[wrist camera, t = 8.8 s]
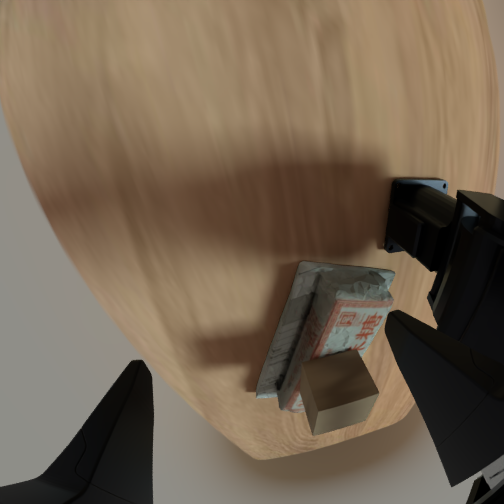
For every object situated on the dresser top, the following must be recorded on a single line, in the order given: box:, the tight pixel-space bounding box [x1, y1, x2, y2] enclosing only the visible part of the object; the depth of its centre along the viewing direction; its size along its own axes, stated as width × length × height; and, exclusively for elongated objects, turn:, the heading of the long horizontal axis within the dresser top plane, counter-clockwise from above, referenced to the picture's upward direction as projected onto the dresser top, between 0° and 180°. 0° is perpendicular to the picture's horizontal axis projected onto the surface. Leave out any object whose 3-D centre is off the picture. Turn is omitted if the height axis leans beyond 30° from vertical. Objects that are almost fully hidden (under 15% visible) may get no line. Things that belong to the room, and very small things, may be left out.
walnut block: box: [300, 349, 379, 436], centre depth 21 cm, size 5×5×5 cm
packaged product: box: [256, 261, 395, 413], centre depth 25 cm, size 18×5×10 cm
